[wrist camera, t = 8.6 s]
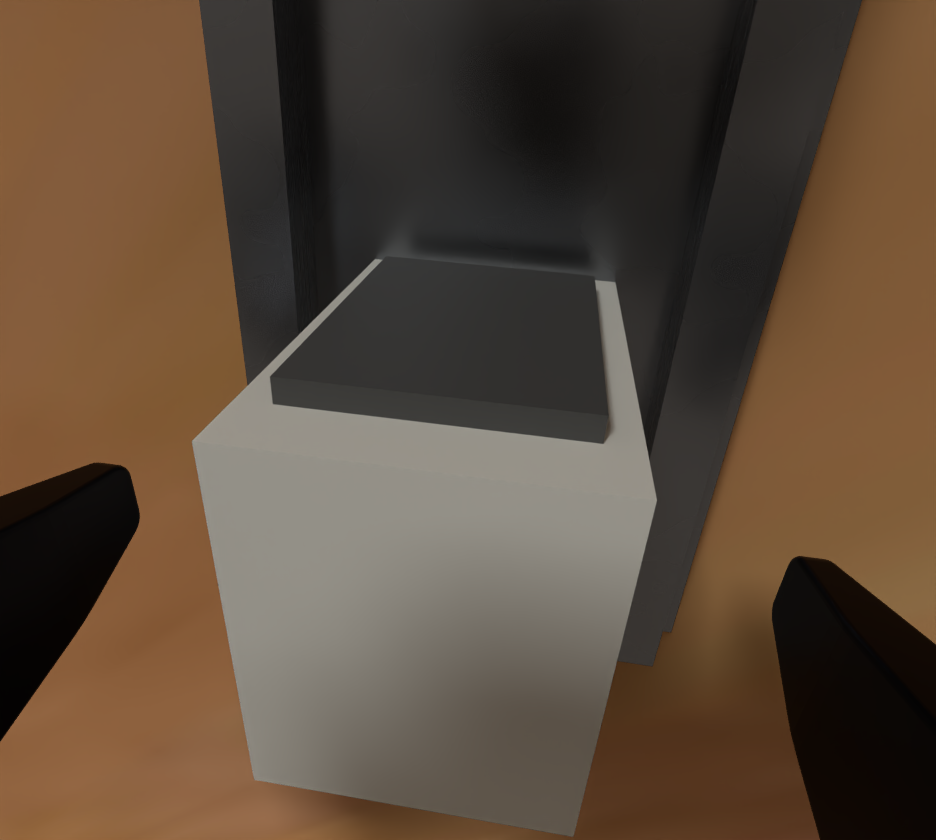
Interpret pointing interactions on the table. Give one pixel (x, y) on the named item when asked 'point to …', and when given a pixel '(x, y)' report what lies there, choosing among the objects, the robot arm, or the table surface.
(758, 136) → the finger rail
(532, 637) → the block
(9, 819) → the table surface
